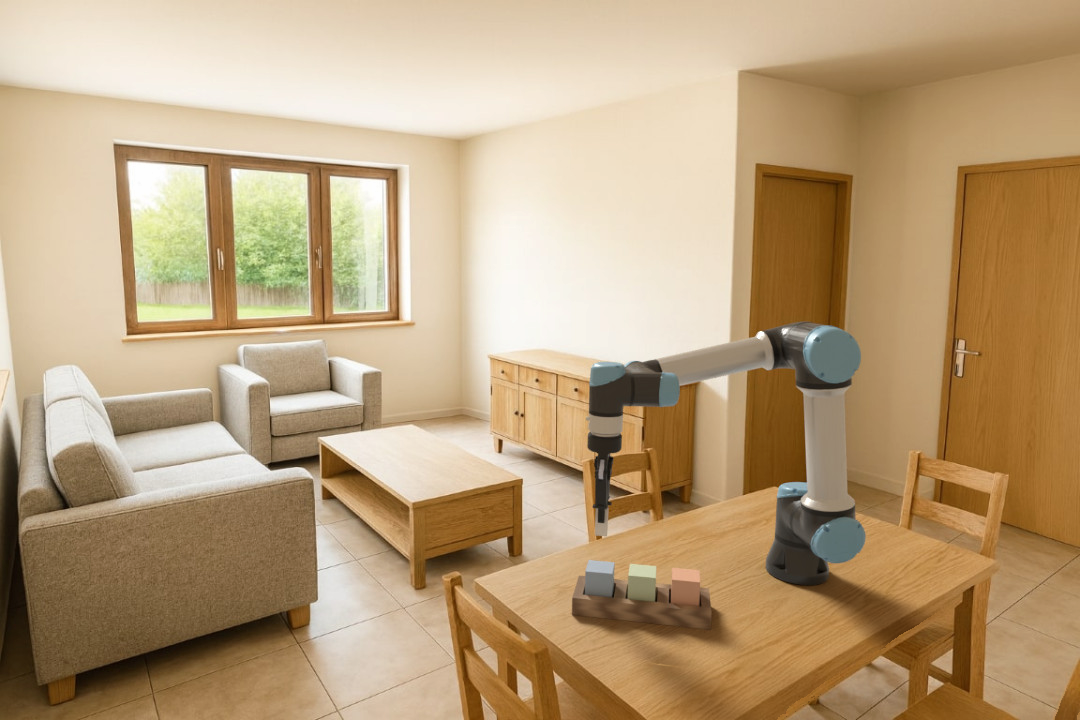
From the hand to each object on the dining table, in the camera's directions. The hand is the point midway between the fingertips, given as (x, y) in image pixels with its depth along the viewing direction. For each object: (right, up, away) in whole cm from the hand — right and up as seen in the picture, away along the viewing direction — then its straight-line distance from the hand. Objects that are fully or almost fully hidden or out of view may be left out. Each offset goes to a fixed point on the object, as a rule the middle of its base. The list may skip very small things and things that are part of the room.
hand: (601, 534), depth 157 cm
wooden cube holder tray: (+9, -17, +1) cm, 19 cm away
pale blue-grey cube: (0, -14, +2) cm, 15 cm away
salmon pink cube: (+18, -15, -1) cm, 24 cm away
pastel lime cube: (+9, -15, 0) cm, 17 cm away
